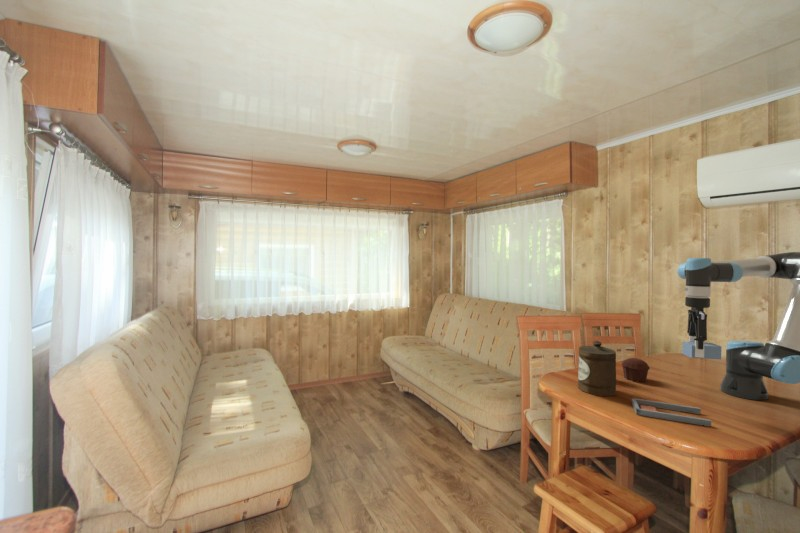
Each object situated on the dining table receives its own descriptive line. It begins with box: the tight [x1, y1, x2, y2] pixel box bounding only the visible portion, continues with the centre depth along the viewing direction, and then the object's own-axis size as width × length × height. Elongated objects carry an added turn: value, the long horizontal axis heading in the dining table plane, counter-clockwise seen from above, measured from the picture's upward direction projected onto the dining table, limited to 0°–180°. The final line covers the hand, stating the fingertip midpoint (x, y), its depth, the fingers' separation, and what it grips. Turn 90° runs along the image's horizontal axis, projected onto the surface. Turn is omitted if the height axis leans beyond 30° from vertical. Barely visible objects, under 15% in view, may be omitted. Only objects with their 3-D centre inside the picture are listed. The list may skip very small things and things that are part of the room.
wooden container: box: [577, 340, 617, 397], centre depth 160 cm, size 15×15×22 cm
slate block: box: [682, 341, 722, 360], centre depth 141 cm, size 10×6×5 cm, turn 80°
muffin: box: [621, 357, 650, 383], centre depth 175 cm, size 12×11×10 cm
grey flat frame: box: [631, 397, 712, 427], centre depth 136 cm, size 22×12×2 cm, turn 65°
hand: (696, 354), depth 141 cm, fingers closed on slate block, 7 cm apart
